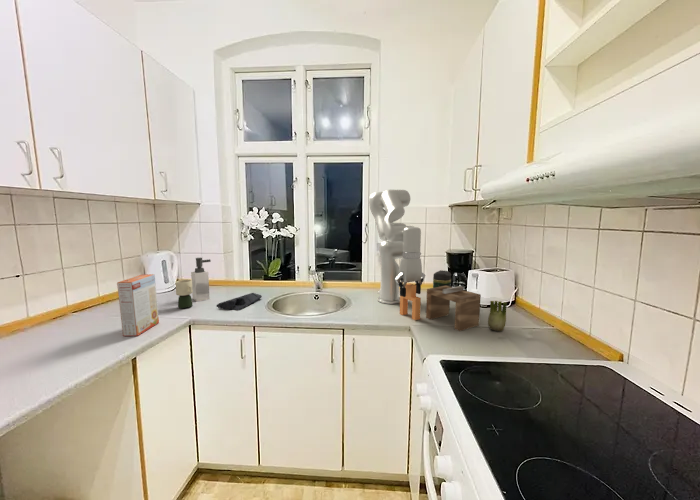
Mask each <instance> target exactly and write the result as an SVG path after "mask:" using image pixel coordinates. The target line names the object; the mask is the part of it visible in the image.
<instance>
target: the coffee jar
mask: <svg viewBox="0 0 700 500" xmlns="http://www.w3.org/2000/svg"><path fill="white" fill-rule="evenodd" d="M441 286H450V287H452V273H451V272H450V271H449V270H442V269H441V270H438V271H436V272H434V273H433V278H432V288H435V287H441ZM449 309H450V306H449Z"/></svg>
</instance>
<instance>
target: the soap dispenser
mask: <svg viewBox="0 0 700 500" xmlns="http://www.w3.org/2000/svg"><path fill="white" fill-rule="evenodd" d="M211 261H212V260H211V259H210V258H209V259H203V257H195V263H196V264H195V265H196V266H195V267H196V268H195V269H194V271H190V276H191V278H190V280H192V290H193V292H192V293H191V294H192V295H191V297H192V301H195V302H202V301H208V299H209V300H211V299H210V298H211V297H210V284H209V283H210V282H209V278H210V277H209V272H208V271H206V270H205V268H204V267H203V263H211Z"/></svg>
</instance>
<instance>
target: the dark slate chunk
mask: <svg viewBox="0 0 700 500" xmlns="http://www.w3.org/2000/svg"><path fill="white" fill-rule="evenodd" d="M261 298H263V297H262V295H261V294H258V293H255V292H251V293H247V294H244V295H240V296H238V297H235V298H231V299H227V300H224V301H222V302H220V303H219V302H218V303H217V304H216V307H218V309H223V310H227V311H228V310H229V311H241V310H242V309H245V308H247V307H249V306H250V305H252V304H254V303H256V302H258V301H259V300H261Z"/></svg>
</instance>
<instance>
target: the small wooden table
mask: <svg viewBox="0 0 700 500" xmlns="http://www.w3.org/2000/svg"><path fill="white" fill-rule="evenodd" d="M451 302H454V303H455V309H454V310H455V311H454V313H455V314H454V330H456V331H459V332H461V331H465V330H469V329H471V328H474V327H478V326H480V316H481V315H480V311H481V294H480V293H476V292H472V291H468V290H464V286H461V285H459V286H458V285H457V286H451V287H450V286H441V287H435V288H433V287H431V288H427V289H426V303H425V304H426V308H425V310H426V311H425V318H426V319H428V320H433V319H438V318H441V317H445V316H446V317H447V316H449V315H450V308H449V306H450V305H451Z"/></svg>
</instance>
